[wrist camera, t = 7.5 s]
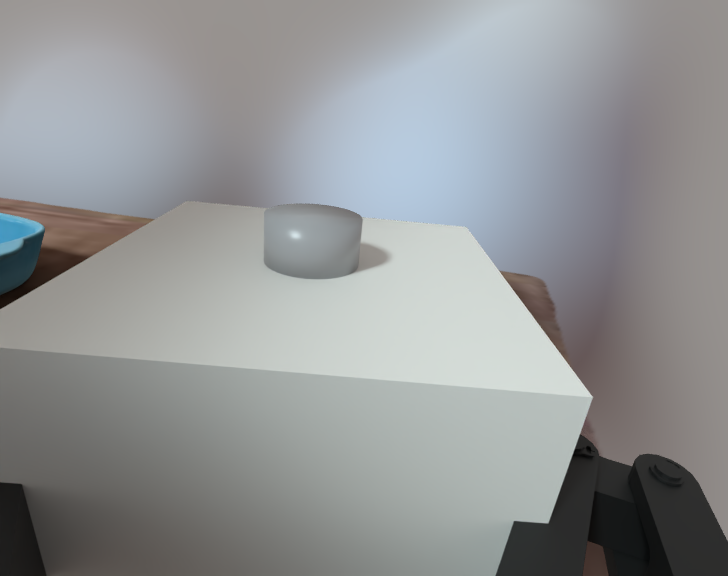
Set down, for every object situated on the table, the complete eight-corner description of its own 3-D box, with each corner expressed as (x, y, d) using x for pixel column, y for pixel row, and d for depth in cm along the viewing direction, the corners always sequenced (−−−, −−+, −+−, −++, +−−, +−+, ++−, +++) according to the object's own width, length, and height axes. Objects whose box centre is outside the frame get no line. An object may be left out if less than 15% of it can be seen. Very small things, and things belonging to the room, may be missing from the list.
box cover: (56, 709, 11) (-81, 268, 6) (200, 425, 20) (184, 166, 16) (473, 735, 11) (616, 330, 7) (425, 444, 20) (472, 193, 16)
